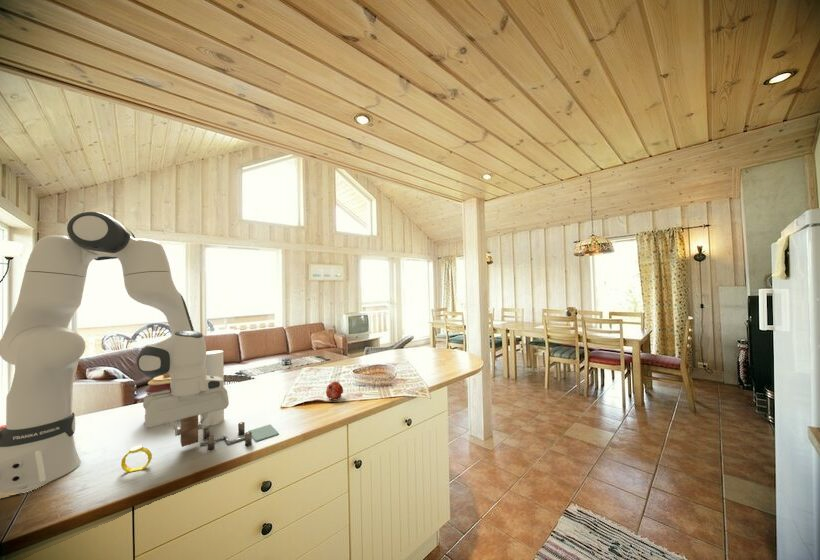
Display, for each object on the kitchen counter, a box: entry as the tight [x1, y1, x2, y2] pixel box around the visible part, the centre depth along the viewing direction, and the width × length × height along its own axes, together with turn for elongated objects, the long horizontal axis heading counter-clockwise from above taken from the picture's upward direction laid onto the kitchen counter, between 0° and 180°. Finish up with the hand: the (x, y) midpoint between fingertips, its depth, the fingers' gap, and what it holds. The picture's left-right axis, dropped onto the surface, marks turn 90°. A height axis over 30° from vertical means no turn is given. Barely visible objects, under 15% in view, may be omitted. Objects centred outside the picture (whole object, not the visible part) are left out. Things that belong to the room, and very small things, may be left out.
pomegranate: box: [325, 381, 344, 400], centre depth 130 cm, size 7×7×10 cm
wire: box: [199, 435, 245, 447], centre depth 95 cm, size 13×6×1 cm, turn 131°
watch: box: [120, 444, 153, 473], centre depth 80 cm, size 6×3×6 cm, turn 112°
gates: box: [202, 421, 253, 451], centre depth 95 cm, size 11×16×4 cm
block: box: [179, 415, 199, 448], centre depth 91 cm, size 4×4×8 cm
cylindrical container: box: [199, 349, 225, 427], centre depth 110 cm, size 7×7×25 cm
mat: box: [247, 424, 280, 443], centre depth 99 cm, size 7×9×1 cm
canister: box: [144, 374, 171, 416], centre depth 114 cm, size 13×13×18 cm
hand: (189, 431), depth 91 cm, fingers closed on block, 4 cm apart
